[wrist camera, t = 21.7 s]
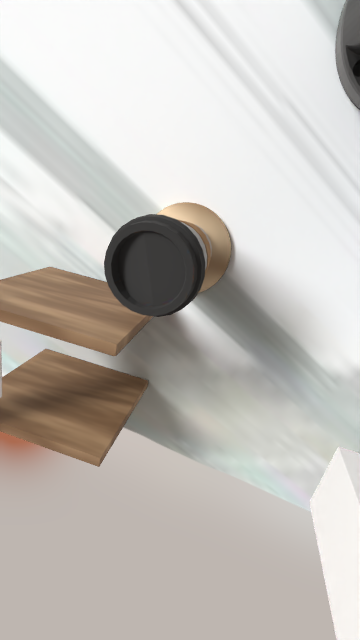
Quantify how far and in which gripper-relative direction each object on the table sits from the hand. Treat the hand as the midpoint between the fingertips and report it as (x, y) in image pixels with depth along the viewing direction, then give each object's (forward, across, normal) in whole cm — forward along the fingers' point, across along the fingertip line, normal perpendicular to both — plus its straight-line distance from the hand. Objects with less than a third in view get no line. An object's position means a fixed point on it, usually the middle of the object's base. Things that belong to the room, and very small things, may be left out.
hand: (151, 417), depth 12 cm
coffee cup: (+28, -5, +2) cm, 29 cm away
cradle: (+29, -15, -12) cm, 35 cm away
